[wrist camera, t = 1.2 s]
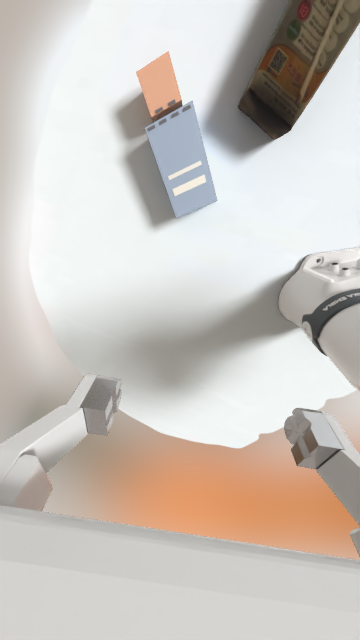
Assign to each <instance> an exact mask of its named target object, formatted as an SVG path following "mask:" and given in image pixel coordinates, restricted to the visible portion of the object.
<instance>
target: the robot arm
mask: <svg viewBox="0 0 360 640" xmlns="http://www.w3.org/2000/svg"><path fill="white" fill-rule="evenodd" d="M317 259H319V261H317ZM316 261H317V262H316ZM278 304H279V309H280V311H281V313H282V315H283V316H284V317H285V318H286V319H288V320H289V321H292V322H294V323H295V324H297V325H298V326H299V327H301V328H302V329H303V330H304V332H305V334H306V336H307V337H308V338H309V340H310V341H312V343H313V344H314V345H315V346H316V347H317V348H318V350H319V351H320V352H321V353H323V354H324V355H326V356H328V357H329V358H330V360H331V361H332V362H333V363H334V364H335V366H336V367H337V368H338V369H339V370H340V372H341V373H342V374H343V375H344V376H345V378H346V379H347V380H348V381H349V382H350V383H351V385H352V386H354V387H355V388H356V389H358V390H360V247H356V248H349V249H342V250H336V251H329V252H323V253H316V254H310V255H308V256H307V257H306V258H305V259H304V261H303V262H302V264H301V266H300V268H299V270H298V271H297V272H296V273H295V274H294V275H293V276H292V277H291V278H290V279H289V280H288V281H287V282H286V283H285V285H284V286H283V288H282V290H281V292H280V295H279V301H278ZM120 386H121V379H117V378H111V377H106V376H101V375H96V374H90V373H87V374H86V375H85V376H84V377H83V379H82V380H81V382H80V383H79V385H78V387H77V389H76V390H75V391H74V393H73V395H72V396H71V398H70V399H69V401H68V403H67V404H66V405H61V406H60V407H58V408H56V409H55V410H53V411H52V412H50V413H48V414H47V415H45V416H44V417H42V418H41V419H39V420H37V421H36V422H34V423H33V424H31V425H30V426H28V427H27V428H25V429H23V430H22V431H20V432H19V433H17V434H16V435H14V436H12V437H11V438H9V439H8V440H6V441H5V442H3V443H2V444H0V640H360V560H356V559H349V558H343V557H337V556H330V555H324V554H317V553H311V552H304V551H297V550H291V549H284V548H278V547H271V546H265V545H258V544H251V543H245V542H239V541H232V540H226V539H219V538H212V537H206V536H199V535H193V534H186V533H180V532H173V531H167V530H160V529H153V528H147V527H141V526H134V525H128V524H120V523H114V522H108V521H101V520H95V519H88V518H82V517H75V516H68V515H62V514H55V513H49V512H42V510H43V508H44V506H45V504H46V501H47V499H48V497H49V495H50V493H51V491H52V484H51V482H50V480H49V479H48V477H47V475H46V473H47V472H48V471H49V470H50V469H51V468H52V467H53V466H54V465H55V464H57V463H58V461H60V460H61V459H62V458H63V457H64V456H65V455H66V454H67V453H68V452H69V451H70V450H71V449H72V448H74V447H75V446H76V445H77V444H78V443H79V442H80V441H81V440H82V439H83V438H84V437H85V436H87V434H88V433H91V434H99V435H106V436H107V435H108V433H109V430H110V428H111V425H112V423H113V414H114V413H115V412H116V411H117V409H118V407H119V403H120V399H121V390H120ZM292 413H293V416H290V417H288V418H287V419H286V421H285V425H284V430H285V434H286V437H287V439H288V440H289V441H290V443H291V444H292V447H291V451H292V454H293V456H294V459H295V462H296V465H297V466H300V467H305V468H311V469H316V471H317V473H318V474H319V475H320V476H321V478H322V479H323V480H324V481H325V482H326V484H327V485H328V486H329V488H330V489H331V490H332V491H333V493H334V494H335V495H336V497H337V498H338V499H339V500H340V502H341V503H342V504H343V505H344V507H345V508H346V509H347V511H348V512H349V513H350V514H351V516H352V517H353V518H354V519H355V521H356V522H357V523H358V524H359V526H360V453H358V452H357V451H356V450H355V448H354V446H353V445H352V443H351V442H350V440H349V438H348V437H347V435H346V434H345V432H344V430H343V429H342V427H341V426H340V424H339V422H338V421H337V419H336V418H335V416H334V415H333V414H331V413H327V412H321V411H316V410H309V409H303V408H296V409H294V410H293V412H292ZM350 536H351V538H352V541H353V543H354V545H355V547H356V550H357V552H358V554H359V557H360V527H359V528H357V529H354V530H352V531H351V533H350Z"/></svg>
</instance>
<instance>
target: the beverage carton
mask: <svg viewBox="0 0 360 640" xmlns="http://www.w3.org/2000/svg"><path fill="white" fill-rule="evenodd" d="M359 23H360V0H290V2H289V4H288V6H287V8H286V10H285V12H284V14H283V16H282V18H281V20H280V22H279V24H278V26H277V28H276V30H275V32H274V34H273V36H272V38H271V40H270V42H269V44H268V46H267V48H266V50H265V52H264V54H263V56H262V57H261V59H260V61H259V63H258V65H257V67H256V69H255V71H254V73H253V75H252V77H251V79H250V81H249V83H248V85H247V87H246V89H245V92H244V94H243V96H242V98H241V101H240V103H239V105H238V108H239V109H240V110H241V111H242V112H244V113H245V114H246V115H247V116H248V117H250V118H251V119H252V120H253V121H254V122H255V123H256V124H257V125H258V126H259V127H260V128H262V129H263V130H264V131H265V132H266V133H267V134H268V135H270V136H271V137H272V138H273V139H274V140H275V139H277V138H279V137H281V136H283V135H284V134H286V133H288V132H289V131H290V130H291V129H292V127H293V125H294V124H295V123H296V121H297V120H298V118H299V117H300V115H301V114H302V112H303V111H304V109H305V108H306V106H307V105H308V103H309V102H310V100H311V99H312V97H313V95H314V94H315V92H316V91H317V89H318V88H319V86H320V84H321V83H322V81H323V80H324V78H325V77H326V75H327V73H328V72H329V70H330V69H331V67H332V66H333V64H334V63H335V61H336V59H337V58H338V56H339V55H340V53H341V51H342V50H343V48H344V47H345V45H346V44H347V42H348V40H349V39H350V37H351V36H352V34H353V33H354V31H355V29H356V28H357V26H358V25H359Z"/></svg>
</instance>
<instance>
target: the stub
mask: <svg viewBox="0 0 360 640" xmlns="http://www.w3.org/2000/svg"><path fill="white" fill-rule="evenodd" d="M136 73H137V76H138V79H139V82H140V85H141V88H142V91H143V94H144V97H145V100H146V103H147V106H148V109H149V112H150V115H151V118H152V120H153V122H156V121H157V120H159V119H161V118H163V117H164V116H166V115H168V114H170V113H171V112H173V111H175V110H177V109H179V108H180V107H182V100H181V96H180V92H179V89H178V85H177V81H176V78H175V74H174V70H173V66H172V63H171V59H170V55H169V51H168V52H167V53H165V54H163V55H162V56H160V57H159V58H157V59H156V60H154V61H153V62H151V63H150V64H148V65H147V66H145V67H143V68H142V69H140V70H139V71H137V72H136Z"/></svg>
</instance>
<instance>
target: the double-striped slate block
mask: <svg viewBox="0 0 360 640" xmlns="http://www.w3.org/2000/svg"><path fill="white" fill-rule="evenodd" d="M145 130H146V133H147V136H148V139H149V142H150V145H151V147H152V150H153V153H154V156H155V159H156V162H157V164H158V167H159V170H160V173H161V176H162V179H163V182H164V184H165V187H166V190H167V193H168V196H169V199H170V202H171V204H172V207H173V210H174V213H175V216H176V218H179V217H181V216H183V215H186V214H188V213H190V212H193V211H195V210H197V209H200V208H202V207H204V206H207V205H209V204H211V203H214V202H216V201H217V197H216V193H215V189H214V185H213V181H212V177H211V173H210V169H209V165H208V161H207V157H206V153H205V149H204V145H203V141H202V137H201V133H200V129H199V125H198V121H197V117H196V113H195V109H194V105H193V101H191V102H189V103H187V104H186V105H184V106H182V107H180V108H179V109H177V110H175V111H173V112H171V113H170V114H168V115H166V116H164V117H163V118H161V119H159V120H157V121H156V122H154V123H152V124H150V125H149V126H147V127H145Z"/></svg>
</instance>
